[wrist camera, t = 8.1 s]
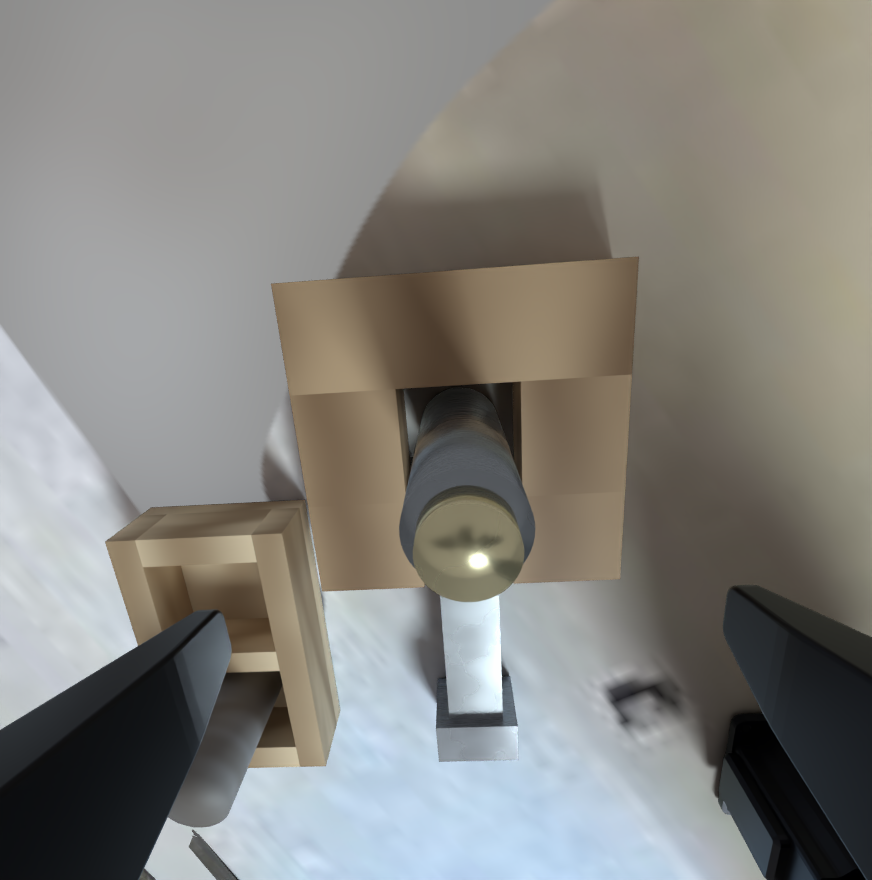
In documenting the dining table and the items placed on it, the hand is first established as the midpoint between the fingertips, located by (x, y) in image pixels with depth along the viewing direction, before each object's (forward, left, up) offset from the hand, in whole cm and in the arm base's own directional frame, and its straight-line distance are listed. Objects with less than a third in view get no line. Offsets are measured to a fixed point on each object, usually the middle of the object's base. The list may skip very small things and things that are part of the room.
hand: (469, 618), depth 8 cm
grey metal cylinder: (0, 0, -12) cm, 12 cm away
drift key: (0, +9, -12) cm, 15 cm away
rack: (+10, +9, -12) cm, 18 cm away
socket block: (0, 0, -12) cm, 12 cm away
